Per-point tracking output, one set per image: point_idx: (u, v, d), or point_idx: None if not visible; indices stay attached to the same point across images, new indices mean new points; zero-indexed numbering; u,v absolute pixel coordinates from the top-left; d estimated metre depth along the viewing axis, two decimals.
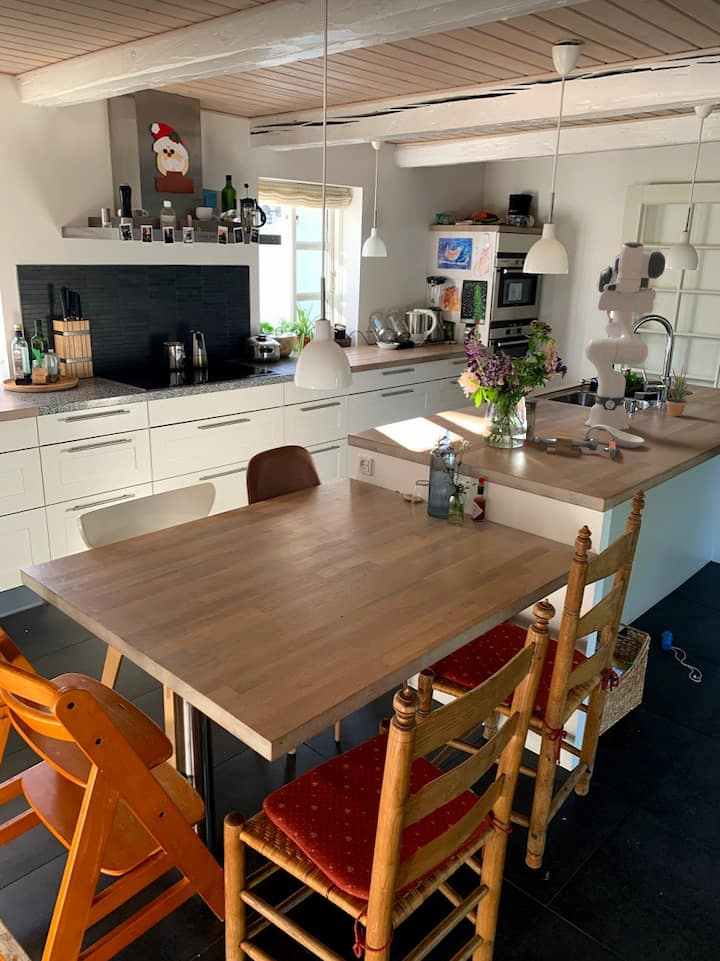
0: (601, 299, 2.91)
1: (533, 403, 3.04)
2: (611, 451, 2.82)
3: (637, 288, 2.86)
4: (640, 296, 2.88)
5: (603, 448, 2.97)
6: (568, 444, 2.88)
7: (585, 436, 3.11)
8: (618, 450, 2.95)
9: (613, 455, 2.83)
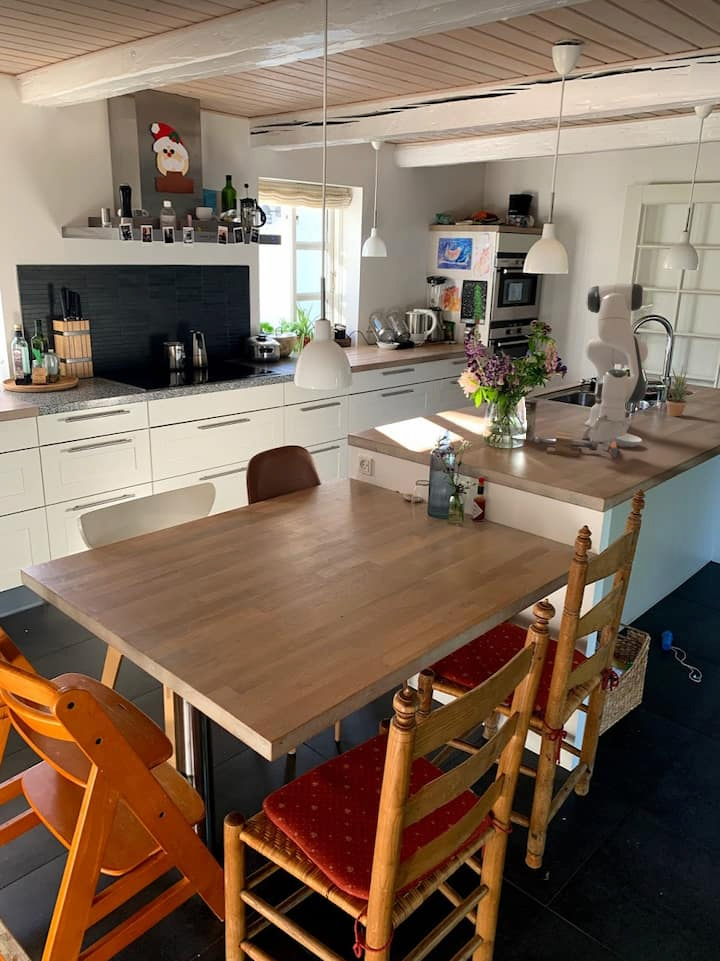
0: None
1: (533, 403, 3.04)
2: (612, 451, 2.82)
3: (600, 414, 2.82)
4: None
5: None
6: (568, 444, 2.88)
7: (584, 435, 3.12)
8: (618, 450, 2.95)
9: (614, 455, 2.82)
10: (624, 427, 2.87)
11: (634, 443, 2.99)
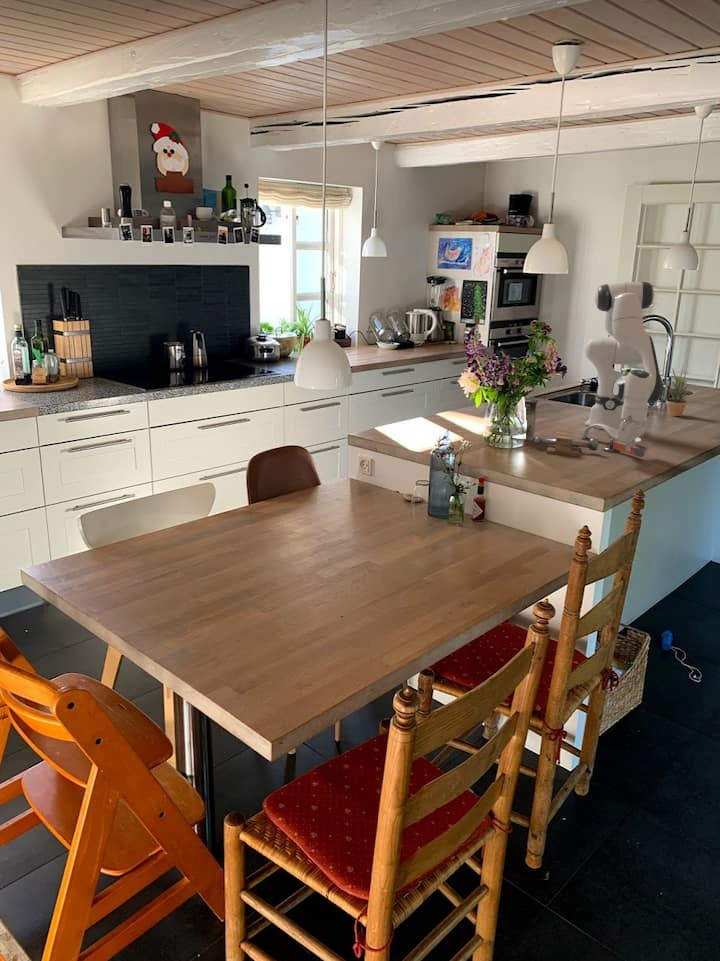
0: None
1: (533, 403, 3.04)
2: (642, 451, 2.83)
3: (623, 415, 2.81)
4: None
5: (603, 448, 2.97)
6: (568, 444, 2.88)
7: (583, 435, 3.13)
8: (618, 450, 2.95)
9: (643, 455, 2.84)
10: (643, 427, 2.88)
11: None
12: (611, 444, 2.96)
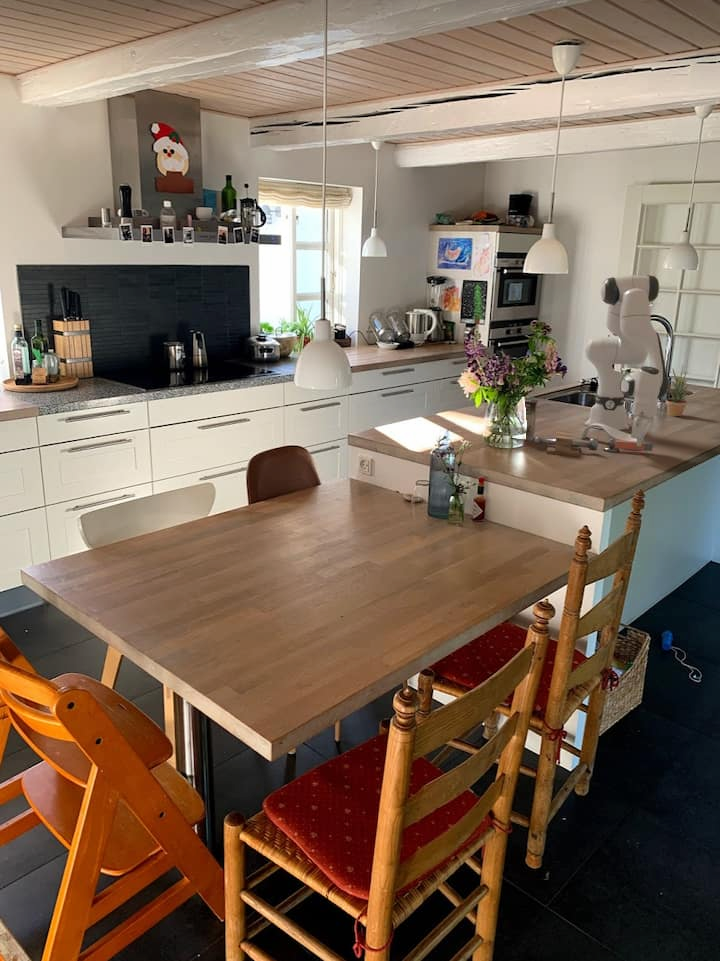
0: None
1: (533, 403, 3.04)
2: None
3: (634, 411, 2.86)
4: None
5: (603, 448, 2.97)
6: (568, 444, 2.88)
7: (582, 435, 3.13)
8: (618, 450, 2.95)
9: None
10: (651, 422, 2.95)
11: None
12: (611, 444, 2.96)
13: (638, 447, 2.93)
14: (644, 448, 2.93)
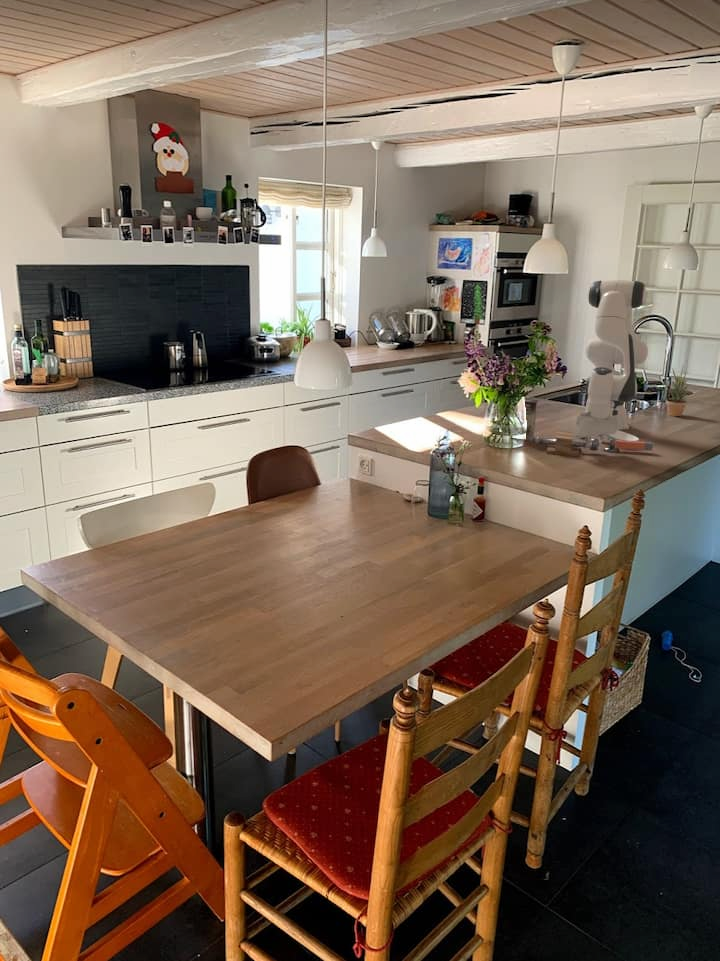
0: None
1: (533, 403, 3.04)
2: None
3: (585, 411, 2.88)
4: None
5: (603, 448, 2.97)
6: (568, 444, 2.88)
7: None
8: (618, 450, 2.95)
9: None
10: (613, 425, 2.91)
11: None
12: (611, 444, 2.96)
13: (638, 447, 2.94)
14: (644, 448, 2.93)
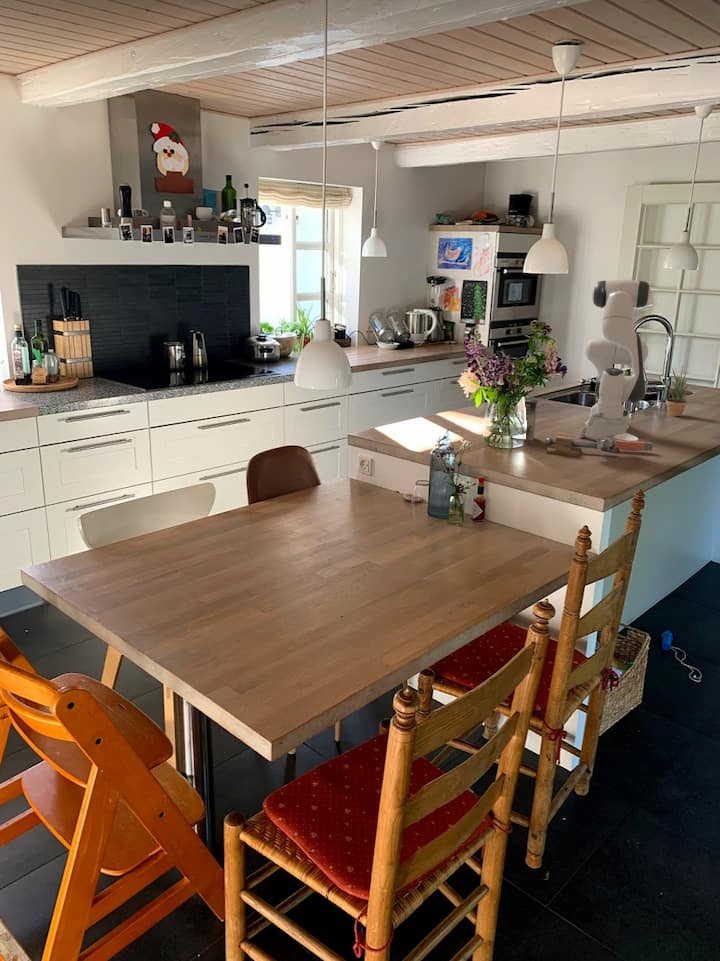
0: None
1: (533, 403, 3.04)
2: None
3: (596, 412, 2.86)
4: None
5: None
6: (568, 444, 2.88)
7: (581, 434, 3.14)
8: (618, 450, 2.95)
9: None
10: (623, 425, 2.90)
11: None
12: None
13: (638, 447, 2.94)
14: (644, 448, 2.93)
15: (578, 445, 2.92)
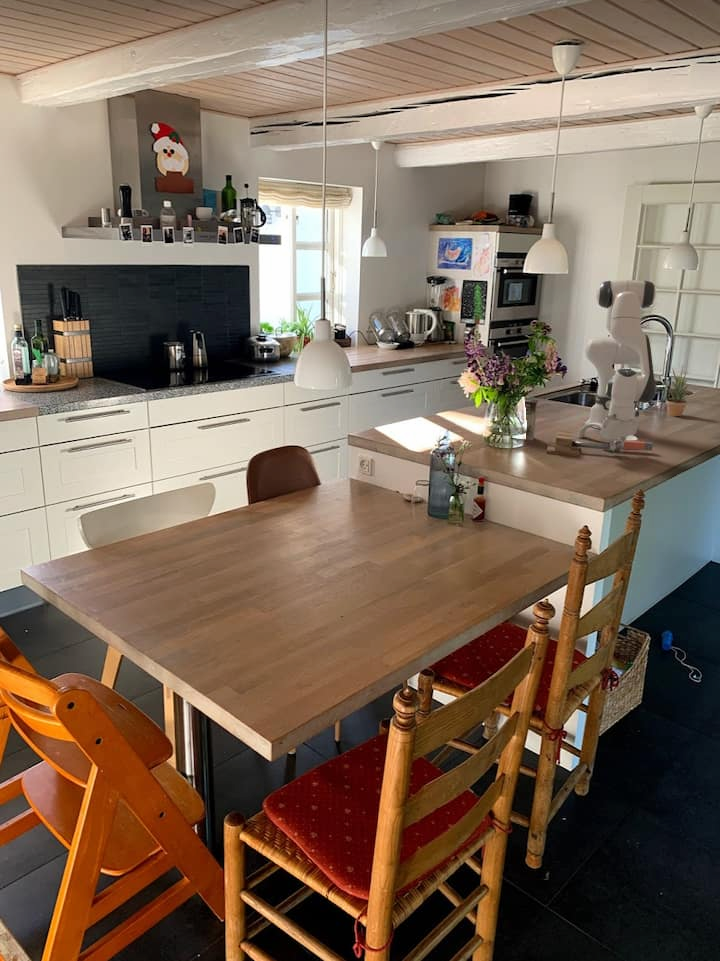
0: None
1: (533, 403, 3.04)
2: None
3: (609, 413, 2.85)
4: None
5: None
6: (568, 444, 2.88)
7: (580, 434, 3.15)
8: None
9: None
10: (634, 426, 2.90)
11: None
12: None
13: (638, 447, 2.94)
14: (644, 448, 2.93)
15: (590, 446, 2.91)
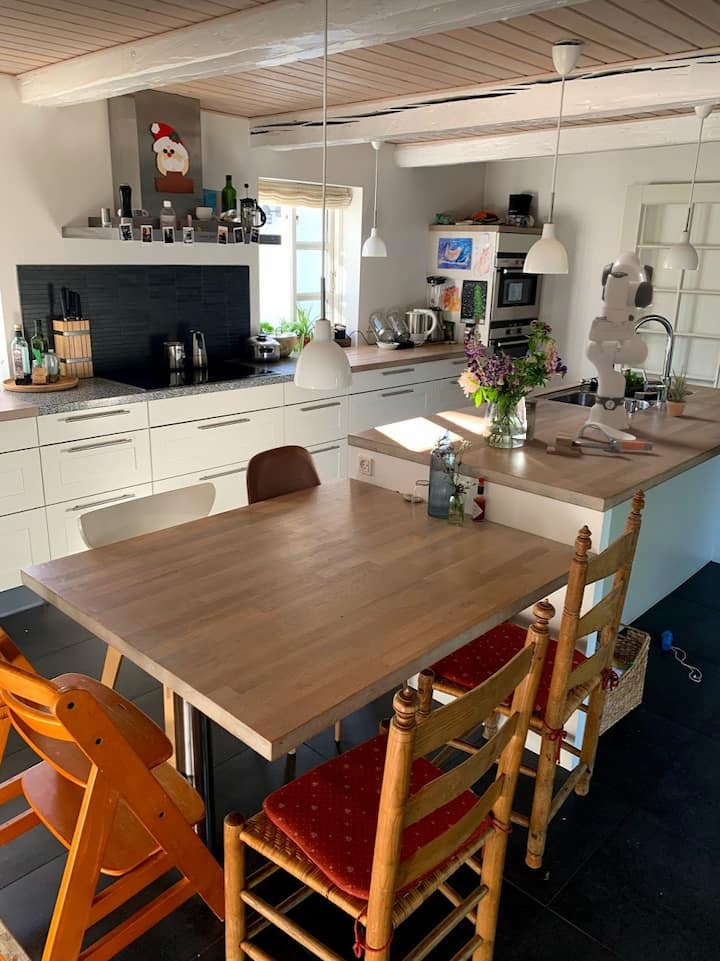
0: None
1: (533, 403, 3.04)
2: None
3: None
4: None
5: None
6: (568, 444, 2.88)
7: (579, 433, 3.15)
8: None
9: None
10: (629, 331, 2.93)
11: None
12: (611, 444, 2.96)
13: (638, 447, 2.94)
14: (644, 448, 2.93)
15: (590, 446, 2.91)
